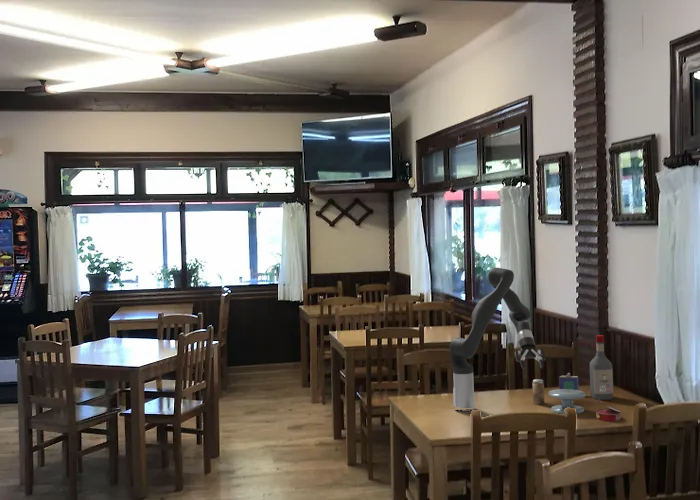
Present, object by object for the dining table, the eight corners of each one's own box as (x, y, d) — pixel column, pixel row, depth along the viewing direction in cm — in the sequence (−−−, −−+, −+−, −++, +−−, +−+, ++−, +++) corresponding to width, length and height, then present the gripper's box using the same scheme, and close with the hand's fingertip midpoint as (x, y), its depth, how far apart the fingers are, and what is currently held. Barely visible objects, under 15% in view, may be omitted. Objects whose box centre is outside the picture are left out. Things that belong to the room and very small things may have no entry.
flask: (578, 393, 346) (577, 372, 345) (579, 395, 343) (578, 373, 343) (559, 393, 348) (558, 372, 347) (559, 395, 345) (558, 373, 345)
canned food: (600, 426, 305) (601, 403, 309) (624, 426, 299) (624, 403, 303) (590, 419, 298) (591, 396, 302) (614, 419, 291) (615, 396, 296)
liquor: (614, 399, 332) (612, 336, 331) (595, 400, 332) (593, 337, 331) (608, 395, 341) (606, 333, 340) (589, 395, 341) (587, 334, 340)
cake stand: (554, 415, 308) (554, 397, 307) (545, 406, 324) (544, 389, 323) (591, 414, 307) (590, 396, 307) (579, 405, 323) (578, 388, 323)
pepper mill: (534, 404, 328) (533, 381, 328) (531, 402, 333) (531, 379, 333) (545, 404, 328) (544, 381, 328) (542, 401, 333) (542, 378, 333)
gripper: (513, 336, 347) (519, 364, 336) (541, 335, 347) (549, 362, 336) (511, 345, 353) (517, 372, 341) (539, 344, 352) (546, 371, 341)
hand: (533, 367), depth 339 cm, fingers open, 8 cm apart
